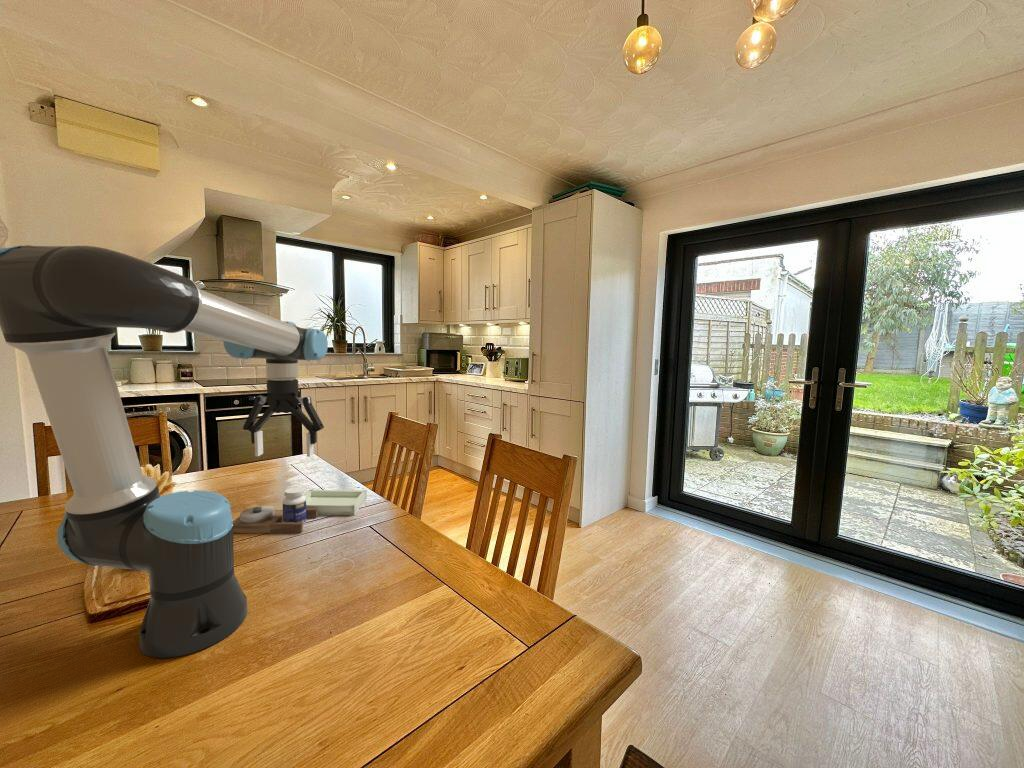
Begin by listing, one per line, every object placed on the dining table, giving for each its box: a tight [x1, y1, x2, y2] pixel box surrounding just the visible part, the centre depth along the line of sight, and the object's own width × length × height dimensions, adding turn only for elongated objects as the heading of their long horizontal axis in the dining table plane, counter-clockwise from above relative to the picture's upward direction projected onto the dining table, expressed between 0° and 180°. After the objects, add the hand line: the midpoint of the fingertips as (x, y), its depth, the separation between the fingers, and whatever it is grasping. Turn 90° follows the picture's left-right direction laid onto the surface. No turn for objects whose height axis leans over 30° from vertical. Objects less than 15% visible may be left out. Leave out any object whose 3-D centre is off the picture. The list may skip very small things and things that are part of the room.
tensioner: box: [233, 505, 319, 534], centre depth 112 cm, size 10×19×5 cm, turn 92°
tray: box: [303, 489, 368, 517], centre depth 124 cm, size 12×18×3 cm, turn 92°
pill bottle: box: [282, 486, 307, 526], centre depth 112 cm, size 6×6×10 cm
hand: (284, 455), depth 112 cm, fingers open, 13 cm apart
